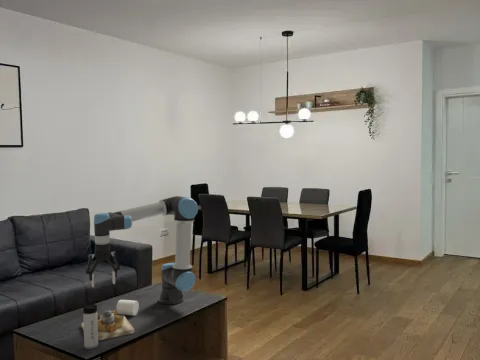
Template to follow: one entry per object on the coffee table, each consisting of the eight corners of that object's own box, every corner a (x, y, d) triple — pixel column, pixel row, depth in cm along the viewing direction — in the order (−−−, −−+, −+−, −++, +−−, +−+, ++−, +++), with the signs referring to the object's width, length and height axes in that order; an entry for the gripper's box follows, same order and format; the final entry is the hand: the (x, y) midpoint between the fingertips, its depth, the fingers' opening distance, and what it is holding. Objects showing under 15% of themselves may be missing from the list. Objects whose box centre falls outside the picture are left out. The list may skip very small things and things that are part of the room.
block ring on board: (123, 318, 240) (123, 301, 240) (134, 332, 221) (134, 314, 221) (81, 326, 230) (81, 308, 229) (89, 342, 211) (88, 323, 210)
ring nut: (119, 317, 236) (118, 308, 236) (127, 328, 220) (127, 318, 220) (88, 323, 228) (88, 313, 228) (95, 335, 213) (95, 325, 213)
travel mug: (87, 343, 210) (85, 302, 208) (100, 343, 209) (99, 302, 208) (81, 349, 203) (79, 306, 202) (94, 349, 203) (93, 307, 202)
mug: (132, 317, 242) (132, 303, 242) (116, 316, 244) (115, 302, 244) (142, 310, 254) (141, 296, 253) (126, 308, 256) (125, 295, 255)
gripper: (122, 239, 237) (123, 279, 239) (78, 244, 226) (79, 286, 228) (125, 242, 231) (126, 283, 232) (80, 246, 220) (82, 290, 221)
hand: (103, 284), depth 230 cm, fingers open, 10 cm apart
